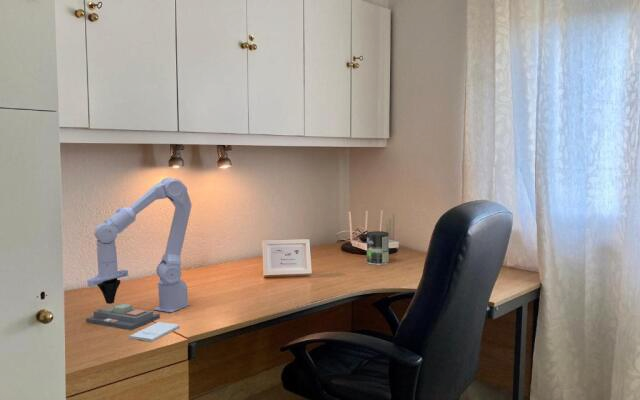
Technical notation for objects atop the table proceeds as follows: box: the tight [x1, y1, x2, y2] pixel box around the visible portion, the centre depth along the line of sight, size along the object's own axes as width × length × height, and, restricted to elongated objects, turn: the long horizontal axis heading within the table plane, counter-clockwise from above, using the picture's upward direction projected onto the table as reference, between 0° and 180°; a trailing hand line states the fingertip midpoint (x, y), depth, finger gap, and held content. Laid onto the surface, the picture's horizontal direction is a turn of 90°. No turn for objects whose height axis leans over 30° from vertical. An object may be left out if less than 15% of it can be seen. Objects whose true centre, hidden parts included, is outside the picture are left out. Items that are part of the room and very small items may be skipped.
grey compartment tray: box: [85, 308, 161, 331], centre depth 164 cm, size 12×19×3 cm, turn 65°
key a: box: [100, 305, 115, 313], centre depth 166 cm, size 4×4×2 cm
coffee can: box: [366, 230, 390, 266], centre depth 241 cm, size 10×10×14 cm
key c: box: [126, 309, 146, 317], centre depth 162 cm, size 4×4×2 cm
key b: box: [113, 303, 133, 315], centre depth 164 cm, size 4×4×2 cm
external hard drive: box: [128, 321, 180, 343], centre depth 152 cm, size 2×8×12 cm
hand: (110, 303), depth 166 cm, fingers closed
